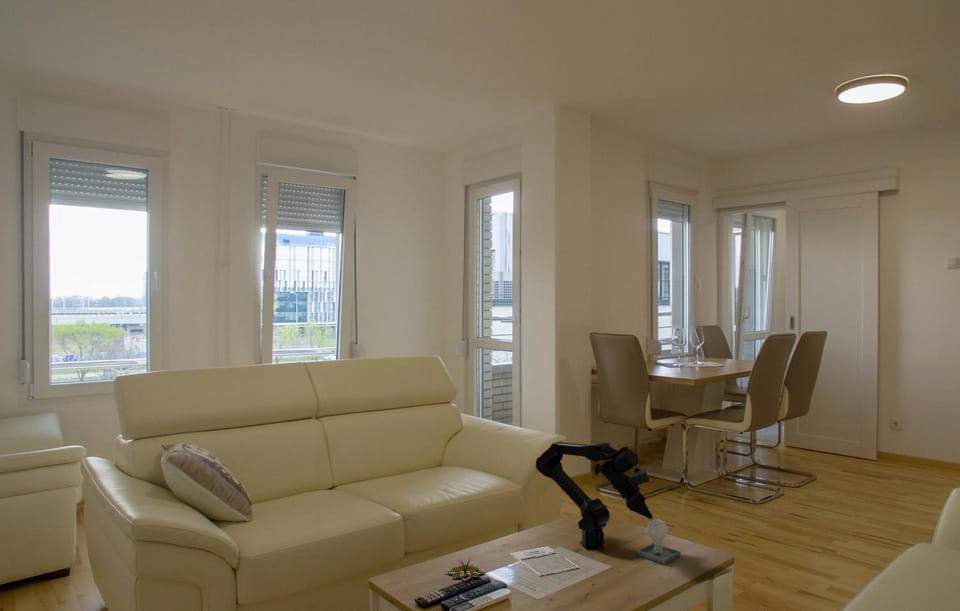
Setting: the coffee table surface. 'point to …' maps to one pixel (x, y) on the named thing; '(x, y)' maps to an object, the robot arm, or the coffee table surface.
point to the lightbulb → (657, 534)
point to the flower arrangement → (465, 568)
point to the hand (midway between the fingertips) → (649, 513)
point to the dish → (662, 558)
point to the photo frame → (534, 553)
